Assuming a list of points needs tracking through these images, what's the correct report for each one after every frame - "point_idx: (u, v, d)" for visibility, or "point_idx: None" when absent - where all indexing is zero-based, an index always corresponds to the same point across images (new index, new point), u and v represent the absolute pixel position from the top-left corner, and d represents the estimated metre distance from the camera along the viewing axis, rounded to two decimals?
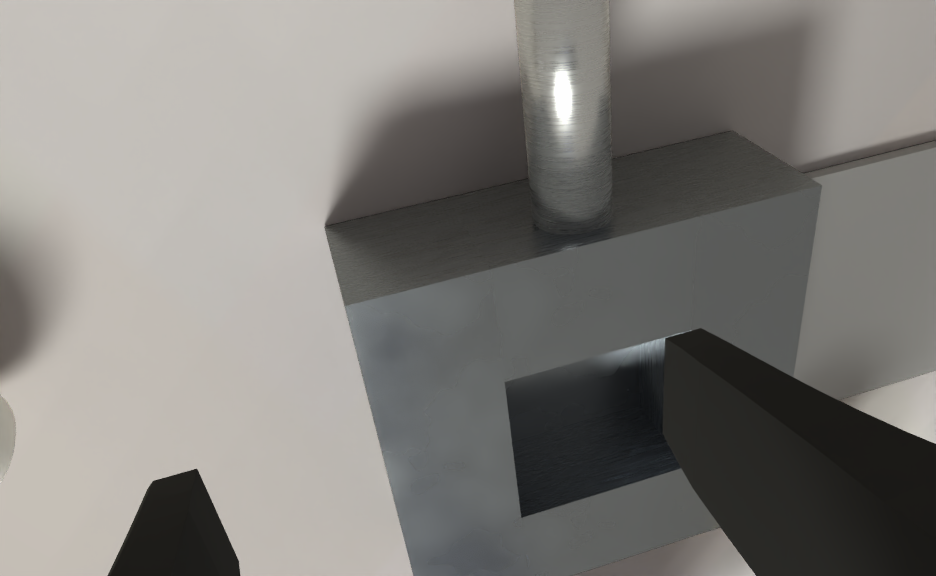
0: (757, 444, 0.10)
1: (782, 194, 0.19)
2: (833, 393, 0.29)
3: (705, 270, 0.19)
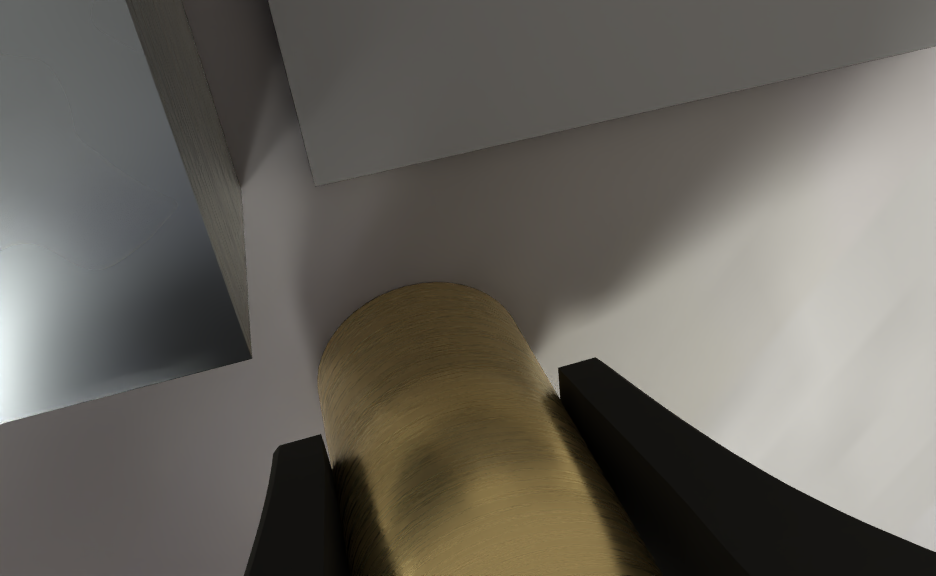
0: (633, 482, 0.10)
1: None
2: (579, 97, 0.11)
3: None
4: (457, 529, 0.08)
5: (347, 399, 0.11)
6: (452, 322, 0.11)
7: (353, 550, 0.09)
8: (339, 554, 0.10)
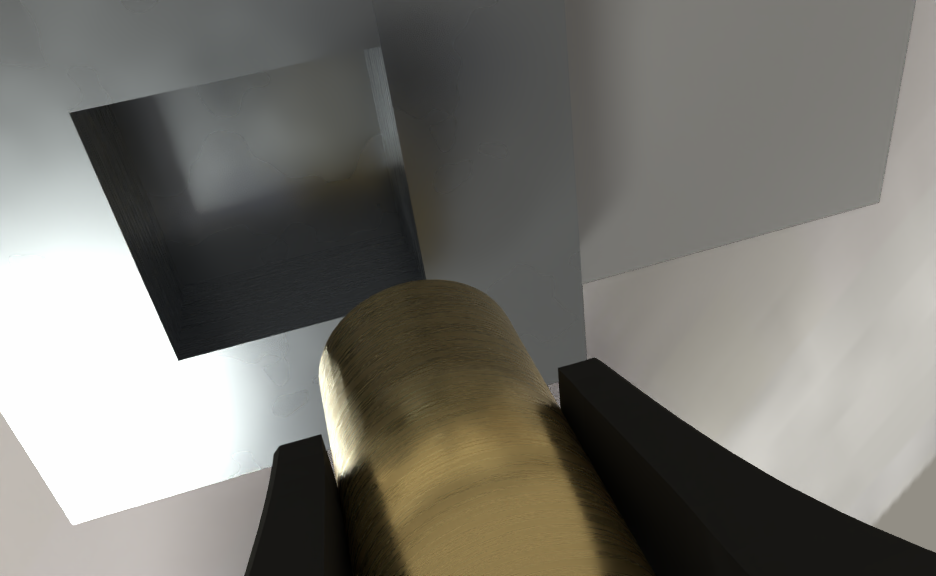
0: (633, 483, 0.10)
1: None
2: (696, 239, 0.22)
3: None
4: (424, 524, 0.09)
5: (337, 407, 0.12)
6: (425, 320, 0.12)
7: (349, 550, 0.10)
8: (339, 554, 0.10)
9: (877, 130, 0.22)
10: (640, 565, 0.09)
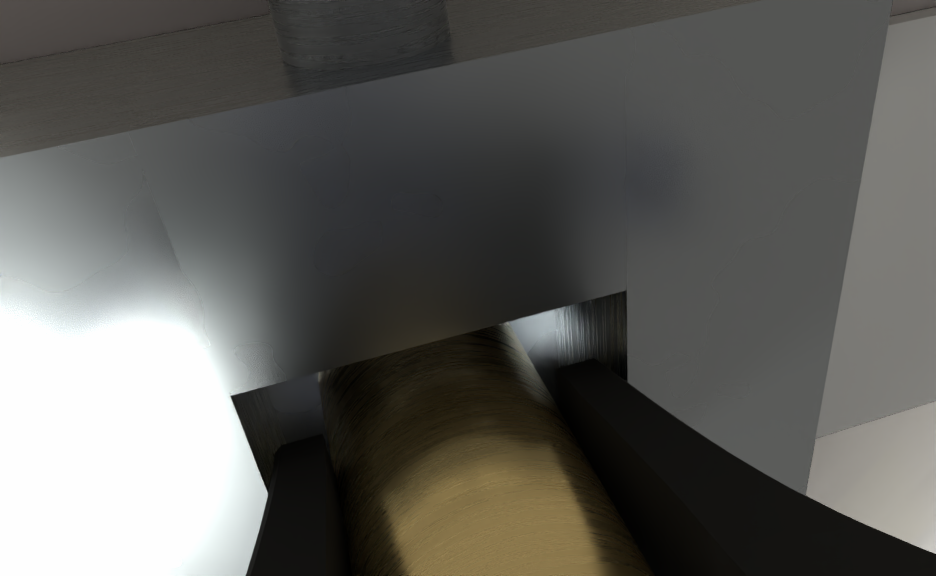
0: (631, 483, 0.10)
1: None
2: (875, 407, 0.19)
3: (649, 159, 0.09)
4: (422, 532, 0.09)
5: (336, 414, 0.12)
6: None
7: (349, 558, 0.10)
8: (341, 553, 0.10)
9: None
10: (641, 570, 0.09)
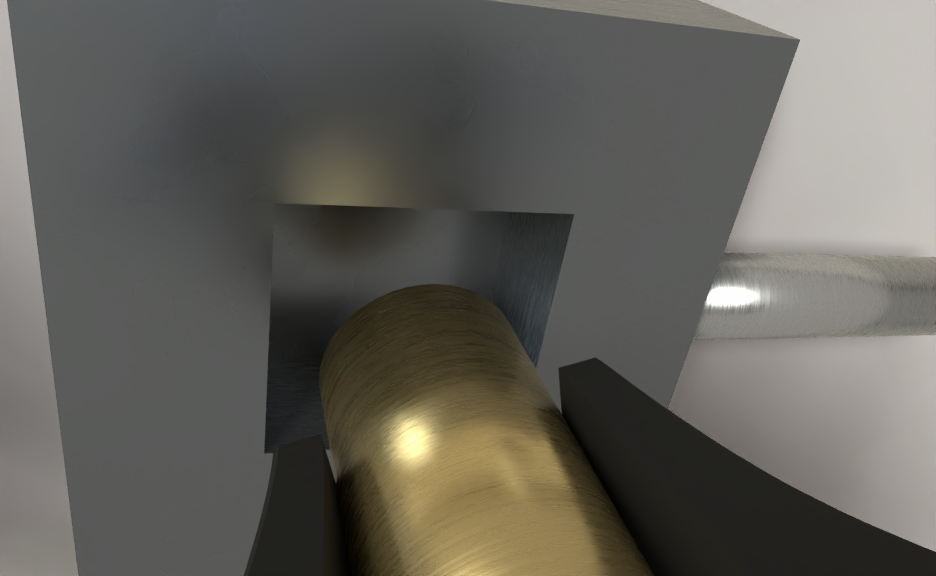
0: (633, 483, 0.10)
1: None
2: None
3: None
4: (434, 524, 0.09)
5: (341, 405, 0.12)
6: (435, 323, 0.12)
7: (350, 549, 0.10)
8: (339, 554, 0.10)
9: None
10: None
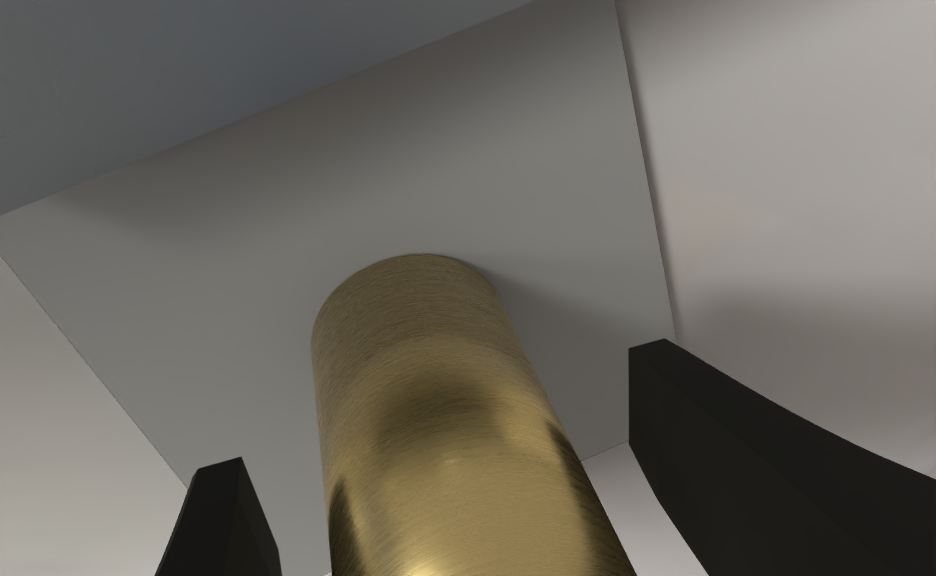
0: (714, 457, 0.10)
1: None
2: (144, 394, 0.13)
3: None
4: (404, 472, 0.09)
5: (327, 365, 0.12)
6: (422, 290, 0.12)
7: (326, 499, 0.10)
8: None
9: None
10: (609, 532, 0.09)
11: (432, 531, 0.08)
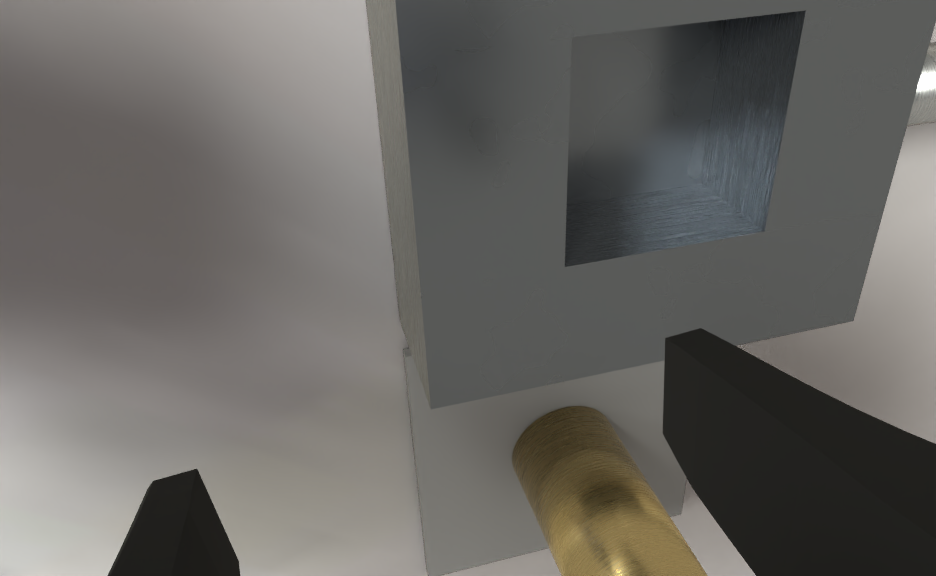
0: (757, 444, 0.10)
1: (861, 287, 0.21)
2: (429, 451, 0.24)
3: (825, 231, 0.19)
4: (618, 524, 0.21)
5: (547, 461, 0.24)
6: (595, 430, 0.24)
7: (560, 529, 0.22)
8: None
9: (493, 552, 0.28)
10: (697, 561, 0.21)
11: (641, 550, 0.20)
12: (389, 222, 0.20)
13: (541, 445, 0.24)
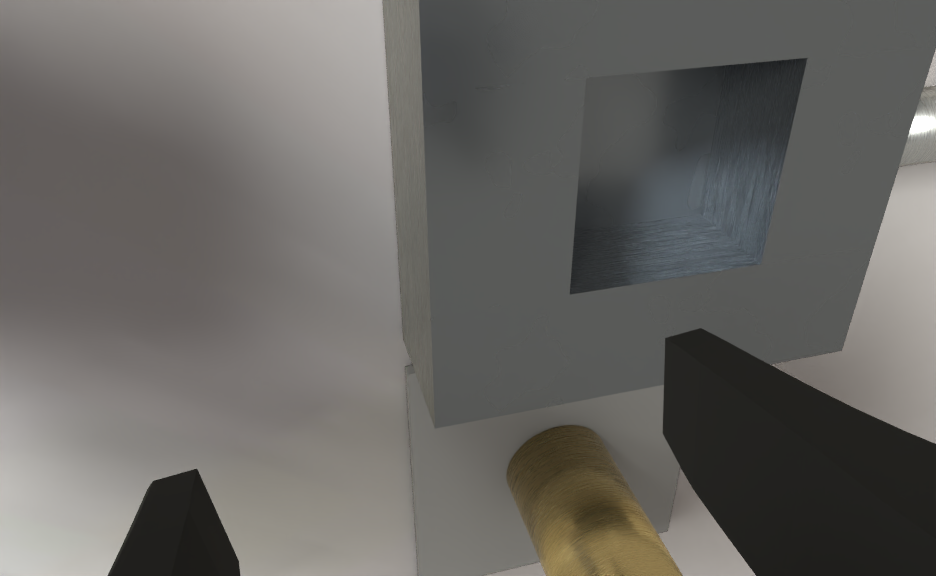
0: (757, 444, 0.10)
1: (850, 318, 0.21)
2: (426, 466, 0.25)
3: (818, 265, 0.20)
4: (610, 544, 0.22)
5: (540, 479, 0.24)
6: (588, 449, 0.25)
7: (553, 547, 0.23)
8: None
9: (484, 566, 0.28)
10: None
11: (630, 571, 0.21)
12: None
13: (535, 463, 0.25)
